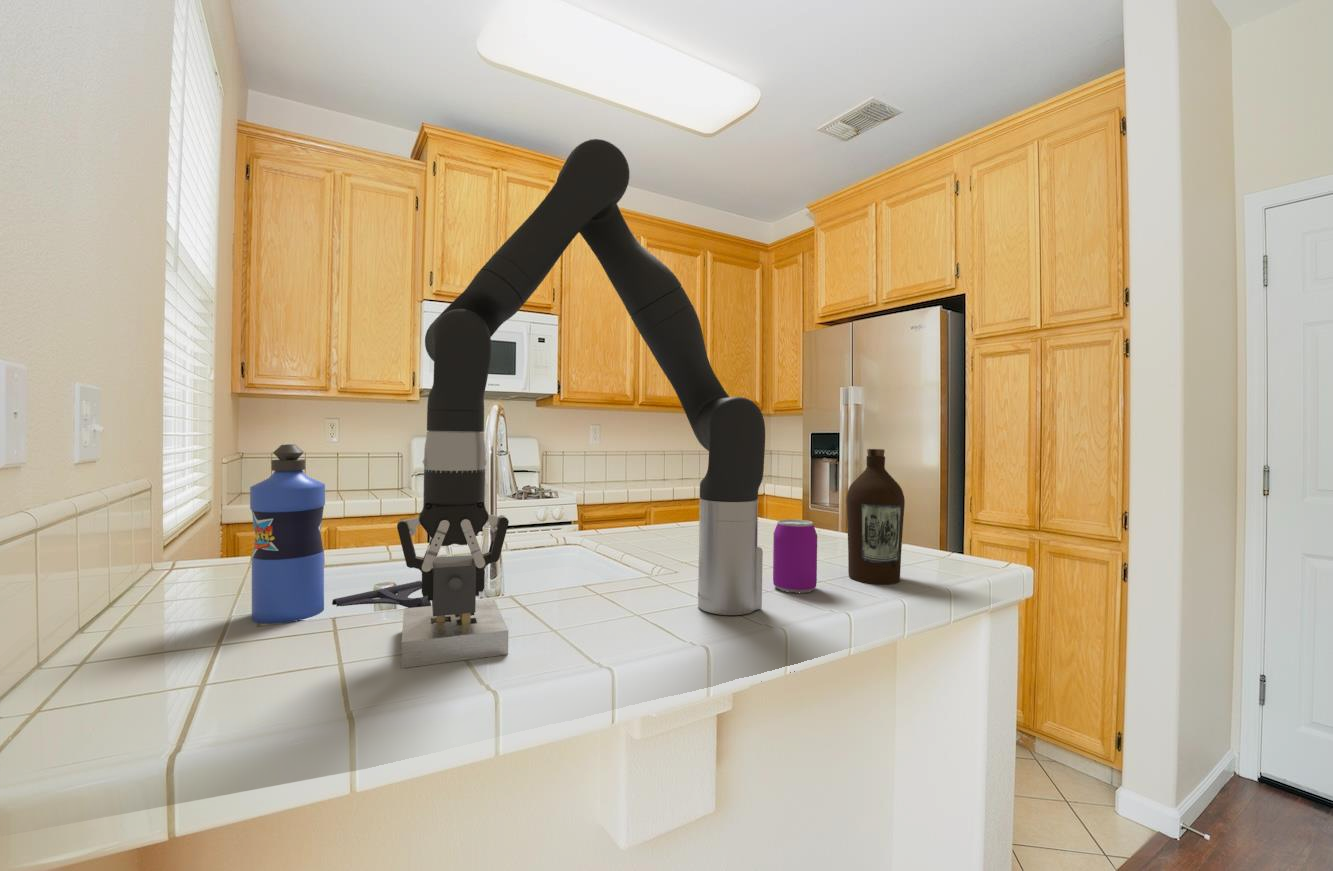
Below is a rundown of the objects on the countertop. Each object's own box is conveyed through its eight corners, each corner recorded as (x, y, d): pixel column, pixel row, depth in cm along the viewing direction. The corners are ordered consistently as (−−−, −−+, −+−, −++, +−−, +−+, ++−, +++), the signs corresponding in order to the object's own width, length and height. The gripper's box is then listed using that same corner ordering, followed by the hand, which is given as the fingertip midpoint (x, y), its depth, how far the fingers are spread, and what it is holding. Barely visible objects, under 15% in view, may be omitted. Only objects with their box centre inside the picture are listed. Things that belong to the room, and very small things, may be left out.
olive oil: (839, 571, 120) (841, 448, 120) (892, 572, 120) (894, 448, 119) (853, 584, 109) (855, 449, 109) (911, 586, 109) (914, 450, 109)
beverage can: (796, 596, 101) (797, 526, 101) (763, 587, 107) (764, 520, 107) (825, 590, 105) (826, 522, 105) (792, 581, 111) (793, 517, 111)
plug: (470, 613, 81) (471, 555, 81) (476, 631, 74) (477, 567, 74) (431, 617, 79) (432, 557, 79) (432, 636, 72) (434, 570, 72)
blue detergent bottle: (270, 628, 81) (269, 446, 81) (238, 616, 86) (237, 444, 86) (338, 610, 89) (337, 444, 89) (305, 600, 94) (304, 443, 94)
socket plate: (494, 620, 86) (494, 599, 86) (508, 654, 73) (508, 630, 73) (403, 630, 81) (403, 608, 81) (401, 668, 68) (401, 642, 68)
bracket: (380, 628, 84) (380, 609, 84) (331, 608, 93) (332, 590, 93) (468, 606, 95) (468, 588, 95) (417, 590, 104) (418, 574, 104)
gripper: (507, 464, 83) (505, 585, 83) (395, 465, 78) (393, 594, 78) (515, 467, 76) (513, 599, 76) (393, 468, 71) (391, 610, 71)
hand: (452, 596), depth 77 cm, fingers closed on plug, 5 cm apart
